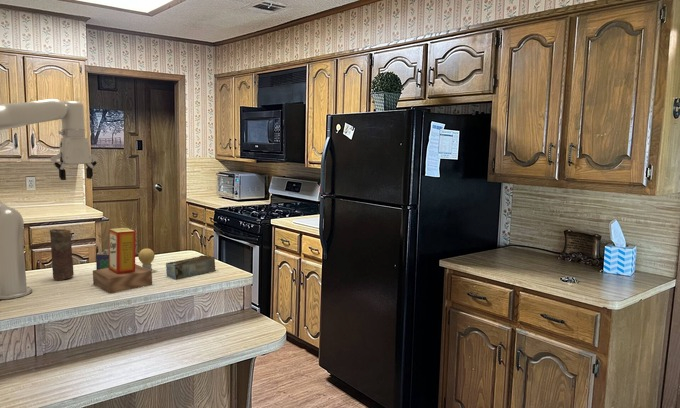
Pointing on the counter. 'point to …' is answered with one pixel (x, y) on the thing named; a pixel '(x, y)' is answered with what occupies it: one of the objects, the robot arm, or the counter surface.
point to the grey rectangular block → (190, 267)
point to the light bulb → (146, 258)
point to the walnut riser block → (122, 279)
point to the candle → (61, 254)
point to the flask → (102, 260)
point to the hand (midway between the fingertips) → (76, 179)
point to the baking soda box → (122, 250)
